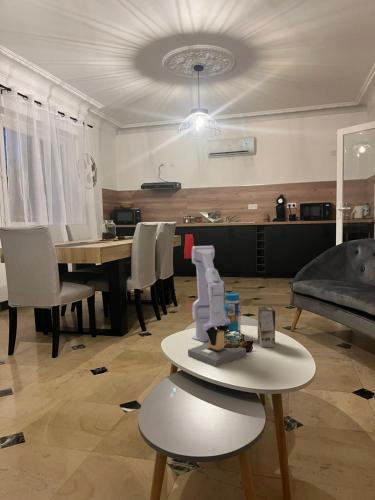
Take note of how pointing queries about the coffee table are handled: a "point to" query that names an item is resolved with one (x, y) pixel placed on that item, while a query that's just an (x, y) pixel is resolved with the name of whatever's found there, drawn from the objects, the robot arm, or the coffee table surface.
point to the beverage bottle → (233, 311)
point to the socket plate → (215, 354)
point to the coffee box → (266, 326)
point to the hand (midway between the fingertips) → (216, 343)
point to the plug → (218, 341)
